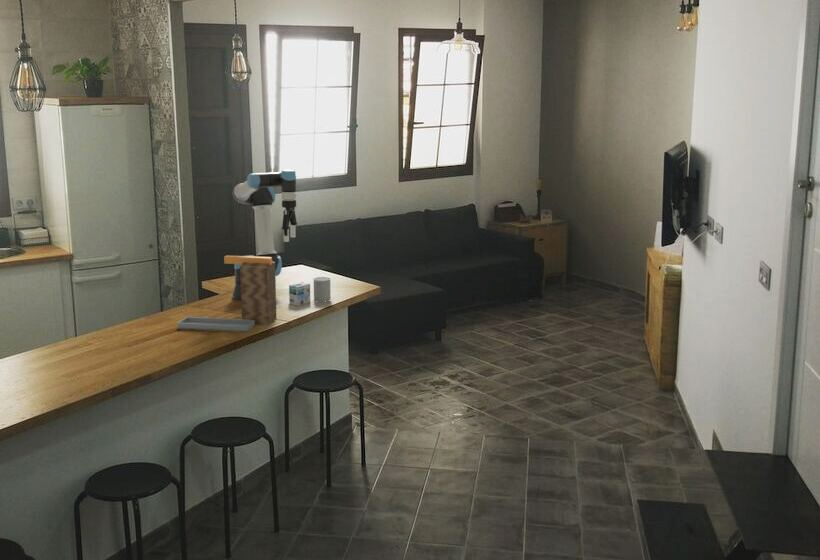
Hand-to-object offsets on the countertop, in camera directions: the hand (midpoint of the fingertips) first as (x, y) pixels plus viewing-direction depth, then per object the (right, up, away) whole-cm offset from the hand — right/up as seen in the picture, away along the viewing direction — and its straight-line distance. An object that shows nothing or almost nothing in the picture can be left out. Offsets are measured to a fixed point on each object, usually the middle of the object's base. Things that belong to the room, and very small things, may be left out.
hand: (289, 239), depth 464 cm
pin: (-18, -13, -20) cm, 30 cm away
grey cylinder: (+14, -33, +30) cm, 47 cm away
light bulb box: (+3, -35, +23) cm, 42 cm away
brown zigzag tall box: (-14, -43, -14) cm, 47 cm away
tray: (-33, -45, -26) cm, 62 cm away
